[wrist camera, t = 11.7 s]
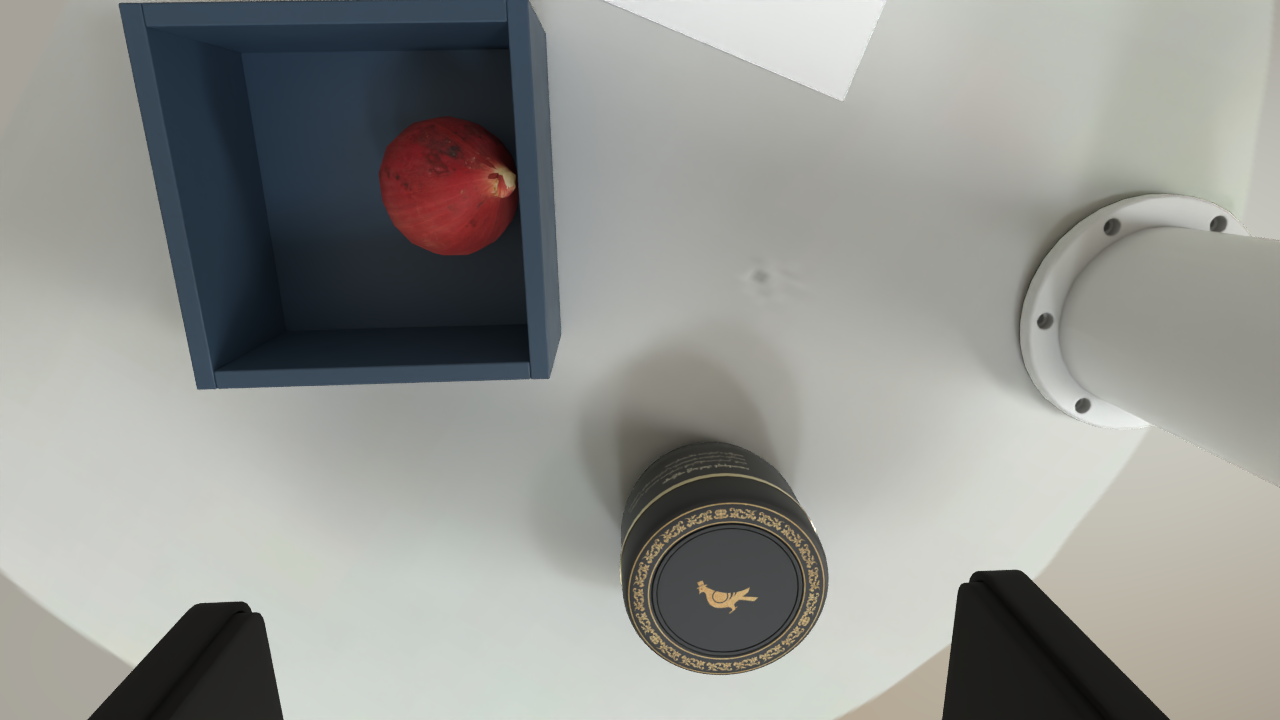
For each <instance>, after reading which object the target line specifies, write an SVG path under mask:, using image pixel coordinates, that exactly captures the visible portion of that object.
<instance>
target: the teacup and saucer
mask: <svg viewBox="0 0 1280 720" xmlns="http://www.w3.org/2000/svg"><path fill="white" fill-rule="evenodd" d="M604 1H606V2H608V3H611V4H613V5H615V6H618V7H620V8H623V9H625V10H627V11H630V12H632V13H634V14H637V15H639V16H641V17H644V18H646V19H649V20H651V21H653V22H656V23H658V24H660V25H663V26H665V27H667V28H670V29H672V30H675V31H677V32H679V33H682V34H684V35H686V36H689V37H691V38H693V39H696V40H698V41H700V42H703V43H705V44H708V45H710V46H712V47H715V48H717V49H719V50H722V51H724V52H726V53H729V54H731V55H734V56H736V57H738V58H741V59H743V60H745V61H748V62H750V63H752V64H755V65H757V66H760V67H762V68H764V69H767V70H769V71H771V72H774V73H776V74H778V75H781V76H783V77H786V78H788V79H790V80H793V81H795V82H797V83H800V84H802V85H804V86H807V87H809V88H812V89H814V90H816V91H819V92H821V93H823V94H826V95H828V96H830V97H833V98H835V99H837V100H840V101H842V102H843V101H844V99H845V96H846V94H847V91H848V89H849V87H850V84H851V82H852V80H853V77H854V75H855V73H856V70H857V68H858V66H859V63H860V61H861V59H862V56H863V54H864V52H865V49H866V47H867V45H868V42H869V40H870V38H871V35H872V33H873V31H874V28H875V26H876V24H877V21H878V19H879V17H880V14H881V12H882V10H883V7H884V5H885V3H886V0H604Z"/></svg>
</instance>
